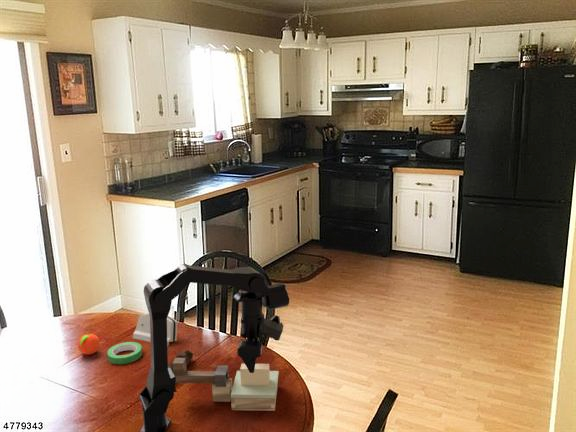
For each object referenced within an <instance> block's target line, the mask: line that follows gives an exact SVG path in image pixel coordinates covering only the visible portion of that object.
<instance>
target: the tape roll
mask: <svg viewBox="0 0 576 432" xmlns="http://www.w3.org/2000/svg"><path fill="white" fill-rule="evenodd" d="M124 351H133V352H130V353H129V354H123V355H117V354H119V353H121V352H124ZM142 355H143V347H142V344H140V343H139V342H135V341H125V342H120V343H117V344H115V345H112V346H111V347H110V348H109V349H108V350H107V361H109V363H111V364H115V365H125V364H130V363H133V362H135V361H137V360H139V359H140V358H141V357H142Z"/></svg>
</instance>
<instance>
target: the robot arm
mask: <svg viewBox="0 0 576 432" xmlns="http://www.w3.org/2000/svg"><path fill="white" fill-rule="evenodd" d="M190 283H192V284H201V285H202V284H203V285H205V284H206V285H214V286H216V285H217V286H225V287H232V288H236V289H237V290H238V292H237V293H236V294H234V296H233V299H234V300H235V301H236V302H237V303H241V317H240V318H241V319H240V324H242V326H241V327H242V328H241V329H242V330H241V338H246V339H243V340H241V341H240V342H239V344H238V347H237V350H236V351H237V356H238V357H240V358H241V360H242V361H243V362H242V363H243V364H245V365H246V367H247V368H248V370H249V372H250V373H254V369H255V364H257V363H256V362H257V359H258V358H260V357H261V356H262V352H263V343H262V342H261V339H264V337H267V338H270V339H273V340H274V341H280V339H281V336H282V333H283V332H284V324H283V322H281V318H280V316H278V315H276V314H274V315H273V316H272V317H271V318H265V314H264V312H263V308H265V309H267V311H271V310H275V309H281V308H286V307H288V306H289V305H290V297H289V293H288V291H287V289H286V284H285V283H283V282H278V283H277V284H272V285H266V283H265V278H264V276H263V274H261V273H260V272H259V271H257V270H256V269H255V268H253V267H251V266H240V267H236V268H231V269H226V268H219V267H218V268H217V267H210V266H209V267H208V266H207V267H206V266H198V265H190V264H186V263H183V264H180V265H178V266H176V268H173V269H172V270H170V271H168V272H166V273H162V275H160V276H159V277H157V278H156V279H152V280H150V281H148V282H147V283H146V284H145V285H144V286H143V296H144V300H145V305H146V308H147V311H148V313H149V315H150V339H151V342H150V370H149V371H148V373H147V381H146V386H144V388H143V389H142V390H141V391H140V393H139V394H138V398H139V399H140V403H141V405H142V417H143V425H142V427H141V430H140V431H139V432H167V429H168V427H169V425H170V422H171V418H169V417H167V411H168V407H169V404H170V402H171V401H172V400H173V399H174V396H175V393H177V389H176V384H177V383H176V377H175V375H174V373H173V371H172V369H171V368H168V365H169V362H168V361H169V360H168V359H169V357H168V354H169V353H168V352H169V351H168V346H167V317H168V316H169V314H170V311H171V308H172V307H171V306H172V302H173V300H174V299H176V298H177V297H178V296H179V295H180V294H181V293H182V291H183V290H184V289H185V288H186V287H187V286H188V285H190Z"/></svg>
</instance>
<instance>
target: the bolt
mask: <svg viewBox="0 0 576 432" xmlns="http://www.w3.org/2000/svg"><path fill="white" fill-rule="evenodd" d="M193 357H194V353H193V352H192V351H190V350H187V349H186V350H185V351H184V352H178V353H177V355H176V356H175V358H186V367H187V366H188V365H189V363H190V361H191V360H192V359H193ZM172 363H173V361H172V362H170V363H168V368H171V369H172V371H173V364H172Z"/></svg>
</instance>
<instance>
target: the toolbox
mask: <svg viewBox="0 0 576 432" xmlns="http://www.w3.org/2000/svg"><path fill="white" fill-rule="evenodd" d="M215 371H216V372H215V383H212V384H211V385H212V386H211V389H212V390H211V391H212V402H215V403H216V402H221V403H222V402H225V403H226V402H228V403H230V402H231V411H276V402H277V396H278V395H277V394H278V391H277V392H276V398H231V391H232V388H233V378H230V377H229V365H217V367H216V369H215ZM278 384H279V383H277V389H278Z"/></svg>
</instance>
